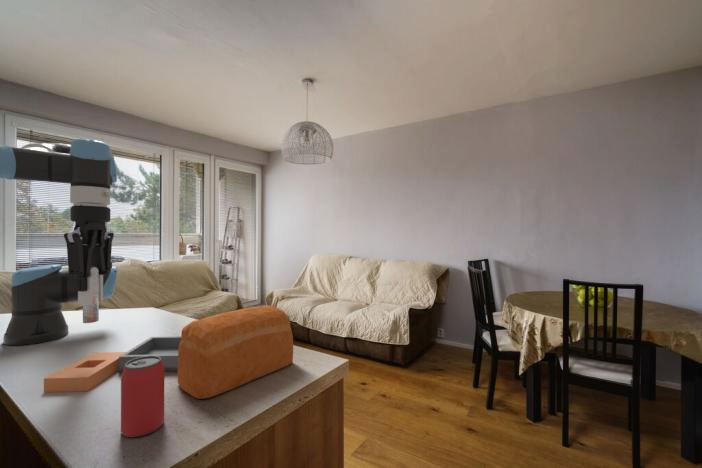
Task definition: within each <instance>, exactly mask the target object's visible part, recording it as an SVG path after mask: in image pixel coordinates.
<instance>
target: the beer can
mask: <svg viewBox="0 0 702 468" xmlns="http://www.w3.org/2000/svg"><path fill="white" fill-rule="evenodd" d="M164 422H165V372H164V366H163V364H162V362H161V358H160V357H159V356H144V357H139V358H135V359H132V360H130V361H128V362H127V363H126V364H125V368H124V371H123V373H121V378H120V432H121V434H122V435H123V436H124V437H126V438H140V437H144V436H147V435H150V434H151V433H154V432H155V431H157V430H159V428H160V427H161V426H162V425H163V424H164Z"/></svg>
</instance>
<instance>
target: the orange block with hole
mask: <svg viewBox="0 0 702 468" xmlns="http://www.w3.org/2000/svg"><path fill="white" fill-rule="evenodd" d="M126 352H127V351H110V352H109V351H107V352H106V351H105V352H104V351H103V352H101V351H99V352H91V353H90V354H88V355H86V356H84V357H82V358H80V359H79V360H77V361H74V362H73V363H71V364H69V365H67V366H65V367H63V368H62V369H61V368H60V369H59V370H58V371H55V372H54V373H51V374H50V375H48V376H46V377H44V378H43V393H64V392H66V393H67V392H89V391H90V390H91V389H93V388H95V387H96V386H97V385H98V384H100V383H102V382H104V381H105V380H106V379H108V378H109V377H111V376H112V375H114V374H115V373H117V372H119V356H121V355H123V354H124V353H126Z"/></svg>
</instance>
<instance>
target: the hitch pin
mask: <svg viewBox="0 0 702 468" xmlns="http://www.w3.org/2000/svg"><path fill="white" fill-rule="evenodd" d="M89 277H93V304H91V305H82V323H83V324H91V323H96V322H99V320H100V318H99V317H100V315H99V314H100V310H99V309H100V307H99V306H100V301H99V270H98V268H97V267H95V266H91V268H90V276H89Z"/></svg>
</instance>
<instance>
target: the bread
mask: <svg viewBox="0 0 702 468" xmlns="http://www.w3.org/2000/svg"><path fill="white" fill-rule="evenodd" d="M292 331H293V330H292V327H291V320H290V316H288V314H287V313H286V312H285V311H283V310H282V309H280V308H278V307H276V306H274V305H267V304H266V305H260V306H254V307H246V308H240V309H236V310H230V311H226V312H221V313H217V314H214V315H209V316H206V317H204V318H200V319H197V320H196V319H195V320H193V321H191V322H189V323H188V324H186V325H184V327H182V329H181V335H180V336H181V342H180V344H179V350H178V371H177V384H178V386H179V388H180V389H181V390H183V392H186V393H187V394H189V395H190V396H192V397H193V398H195V399H198V400H202V399H210V398H213V397H214V396H215V397H216V396H217V395H220V394H224V393H226V392H228V391H230V390H233V389H235V388H238V387H240V386H243V385H245V384H247V383H250V382H252V381H254V380H257V379H259V378H261V377H265V376H266V375H269V374H271V373H274V372H277V371H279V370H281V369H283V368H286V367H288V366H289V365H291V364H292V363H293V361H294V336H293V332H292Z"/></svg>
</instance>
